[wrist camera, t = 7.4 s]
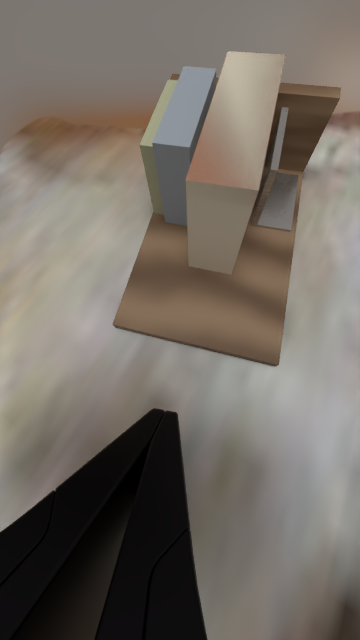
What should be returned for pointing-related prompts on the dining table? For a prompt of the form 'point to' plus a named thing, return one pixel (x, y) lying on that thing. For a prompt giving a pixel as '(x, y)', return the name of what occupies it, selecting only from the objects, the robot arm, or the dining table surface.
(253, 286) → the shelf
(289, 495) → the dining table surface
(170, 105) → the small books
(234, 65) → the boxed book
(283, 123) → the bookend
